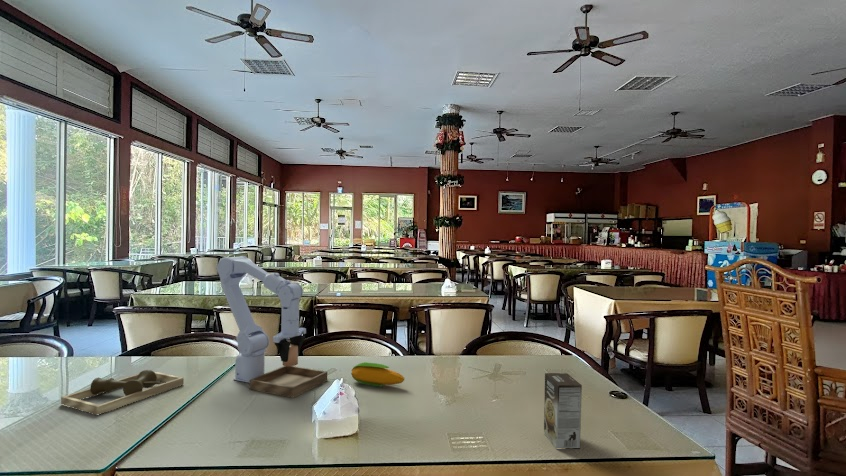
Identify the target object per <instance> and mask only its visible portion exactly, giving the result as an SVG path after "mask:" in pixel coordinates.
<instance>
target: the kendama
mask: <svg viewBox="0 0 846 476" xmlns="http://www.w3.org/2000/svg"><path fill="white" fill-rule="evenodd" d="M155 372H156V371H154V372H153V370H151V369H144V370H141V371H140V372H139V373H138V374H139V375H138V378H137V380H130V381H128V382H124V381H116V379H114V378H112V377H109V378H108V379H104V378H103V379H102V377H96V378H94V379H93V380H92V381H91V384H90V387H89V388H90V389H91V392H92V394H94V395H96V394H98V393H99V392H104V391H106V393H108V394H109V393H111V392H113V391H115V390H120V389H122V391H123V394H124V395H125V396H127V395H130V394H133V393H136V392H140V391H142V390H144V389H148V388H151V387H154V386H156V385H160V384H162V382H160V381H157V376H156V374H155ZM96 396H97V395H96Z"/></svg>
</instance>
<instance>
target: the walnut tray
mask: <svg viewBox="0 0 846 476" xmlns="http://www.w3.org/2000/svg"><path fill="white" fill-rule="evenodd" d="M326 381H328V371H325V370H320V369H314V368H308V367H301V366H297V365H295V366H283V365H281V366H280V367H278V368H276V369H275V368H274V369H273V370H271V371H267V372H266V373H265V372H264V374H263V375H261V376H258V377H256V378H253V379H251V380H250V383H249V390H254V391H258V392H263V393H267V394H273V395H278V396H284V397H288V398H292V399H294V398H296V397H299V396H300V395H302V394H304V393H306V392H308V391H309V390H311V389H313V388H316V387H317V386H319V385H322V384H323V383H324V382H326Z"/></svg>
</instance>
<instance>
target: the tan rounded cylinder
mask: <svg viewBox="0 0 846 476" xmlns="http://www.w3.org/2000/svg"><path fill="white" fill-rule="evenodd" d="M298 364H299V356H298V345H291V344H290V347H289V353H288V361H287V362H283V361H282V366H297V365H298Z"/></svg>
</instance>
